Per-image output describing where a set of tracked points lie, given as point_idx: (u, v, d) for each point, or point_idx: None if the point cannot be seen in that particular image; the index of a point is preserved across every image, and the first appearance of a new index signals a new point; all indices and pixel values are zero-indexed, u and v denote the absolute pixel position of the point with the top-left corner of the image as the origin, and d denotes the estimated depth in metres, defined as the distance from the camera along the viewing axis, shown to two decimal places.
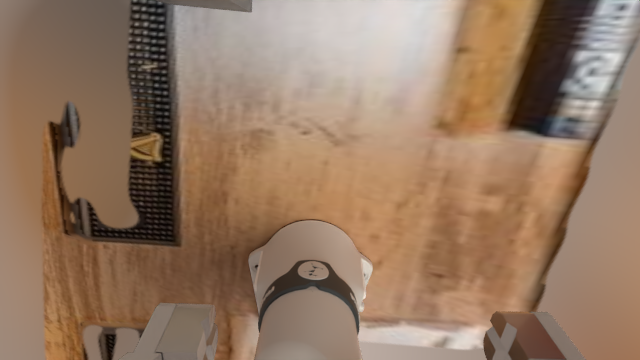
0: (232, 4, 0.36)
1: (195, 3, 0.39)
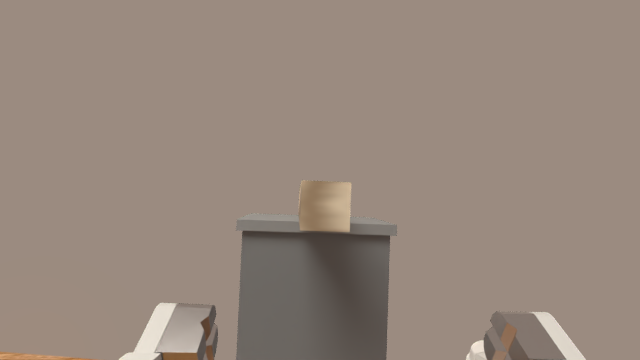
0: None
1: None
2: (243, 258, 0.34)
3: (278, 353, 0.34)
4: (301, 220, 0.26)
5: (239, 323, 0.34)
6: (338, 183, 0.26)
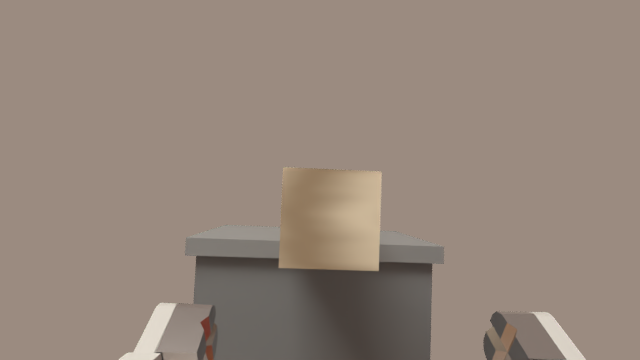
0: None
1: None
2: (197, 299, 0.21)
3: None
4: (281, 247, 0.13)
5: None
6: (356, 173, 0.13)
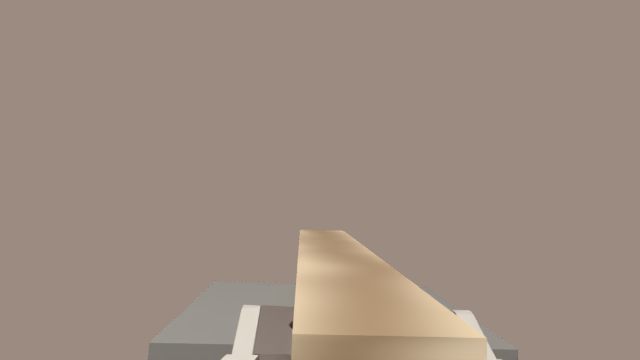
0: None
1: None
2: None
3: None
4: None
5: None
6: (436, 342, 0.07)
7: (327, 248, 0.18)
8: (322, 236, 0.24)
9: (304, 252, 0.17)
